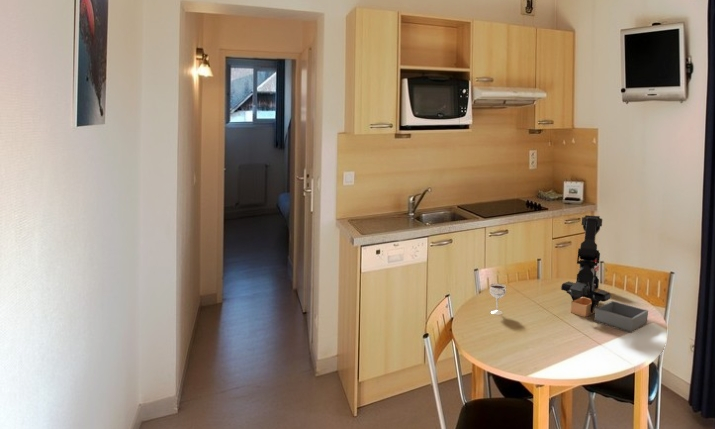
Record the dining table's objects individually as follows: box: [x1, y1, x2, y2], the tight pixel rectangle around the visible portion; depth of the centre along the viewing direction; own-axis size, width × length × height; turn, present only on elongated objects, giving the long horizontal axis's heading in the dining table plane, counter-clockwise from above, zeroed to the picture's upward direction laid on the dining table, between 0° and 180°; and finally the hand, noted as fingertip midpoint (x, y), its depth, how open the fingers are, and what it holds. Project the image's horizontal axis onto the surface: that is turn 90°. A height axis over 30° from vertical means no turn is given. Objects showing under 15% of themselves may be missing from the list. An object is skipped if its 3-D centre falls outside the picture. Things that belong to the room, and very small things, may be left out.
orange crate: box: [570, 297, 598, 318], centre depth 195 cm, size 6×9×5 cm
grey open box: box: [594, 300, 649, 334], centre depth 184 cm, size 14×14×6 cm
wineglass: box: [489, 283, 507, 316], centre depth 196 cm, size 7×7×12 cm
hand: (583, 309), depth 195 cm, fingers open, 7 cm apart
